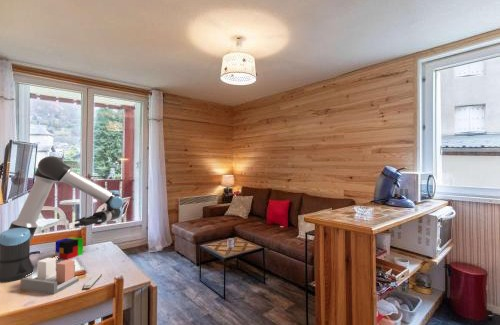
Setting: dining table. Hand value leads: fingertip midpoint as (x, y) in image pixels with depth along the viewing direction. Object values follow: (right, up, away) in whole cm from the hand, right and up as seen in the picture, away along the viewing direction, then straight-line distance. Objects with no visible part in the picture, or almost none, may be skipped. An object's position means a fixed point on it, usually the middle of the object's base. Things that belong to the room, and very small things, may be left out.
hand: (68, 226), depth 136 cm
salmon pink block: (+8, -23, -13) cm, 28 cm away
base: (+2, -25, -15) cm, 29 cm away
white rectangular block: (-3, -23, -11) cm, 25 cm away
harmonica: (+20, -26, -11) cm, 34 cm away
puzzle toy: (-16, -24, +23) cm, 37 cm away
